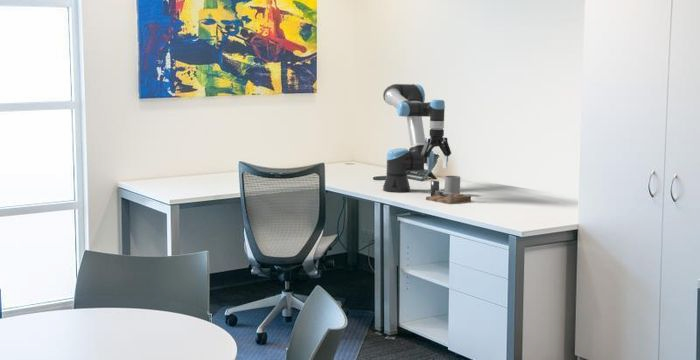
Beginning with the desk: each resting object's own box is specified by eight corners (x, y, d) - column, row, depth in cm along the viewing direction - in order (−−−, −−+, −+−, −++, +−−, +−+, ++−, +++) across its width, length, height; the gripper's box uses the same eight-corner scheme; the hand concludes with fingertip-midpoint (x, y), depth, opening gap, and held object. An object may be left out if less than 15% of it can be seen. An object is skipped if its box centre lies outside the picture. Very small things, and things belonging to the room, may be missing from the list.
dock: (426, 199, 471) (426, 192, 471) (447, 197, 481) (448, 189, 481) (448, 204, 458) (448, 196, 458) (470, 201, 468) (470, 193, 467)
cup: (441, 194, 491) (441, 176, 489) (452, 193, 496) (452, 175, 494) (451, 196, 484) (452, 178, 483) (462, 195, 489) (463, 177, 488)
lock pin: (428, 195, 479) (429, 180, 478) (434, 195, 482) (435, 180, 481) (449, 199, 467) (449, 184, 466) (455, 198, 470) (455, 183, 469)
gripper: (424, 130, 464) (423, 170, 466) (458, 128, 479) (457, 167, 482) (414, 129, 469) (413, 169, 472) (448, 127, 485) (447, 166, 488)
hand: (435, 168), depth 477 cm, fingers open, 13 cm apart
